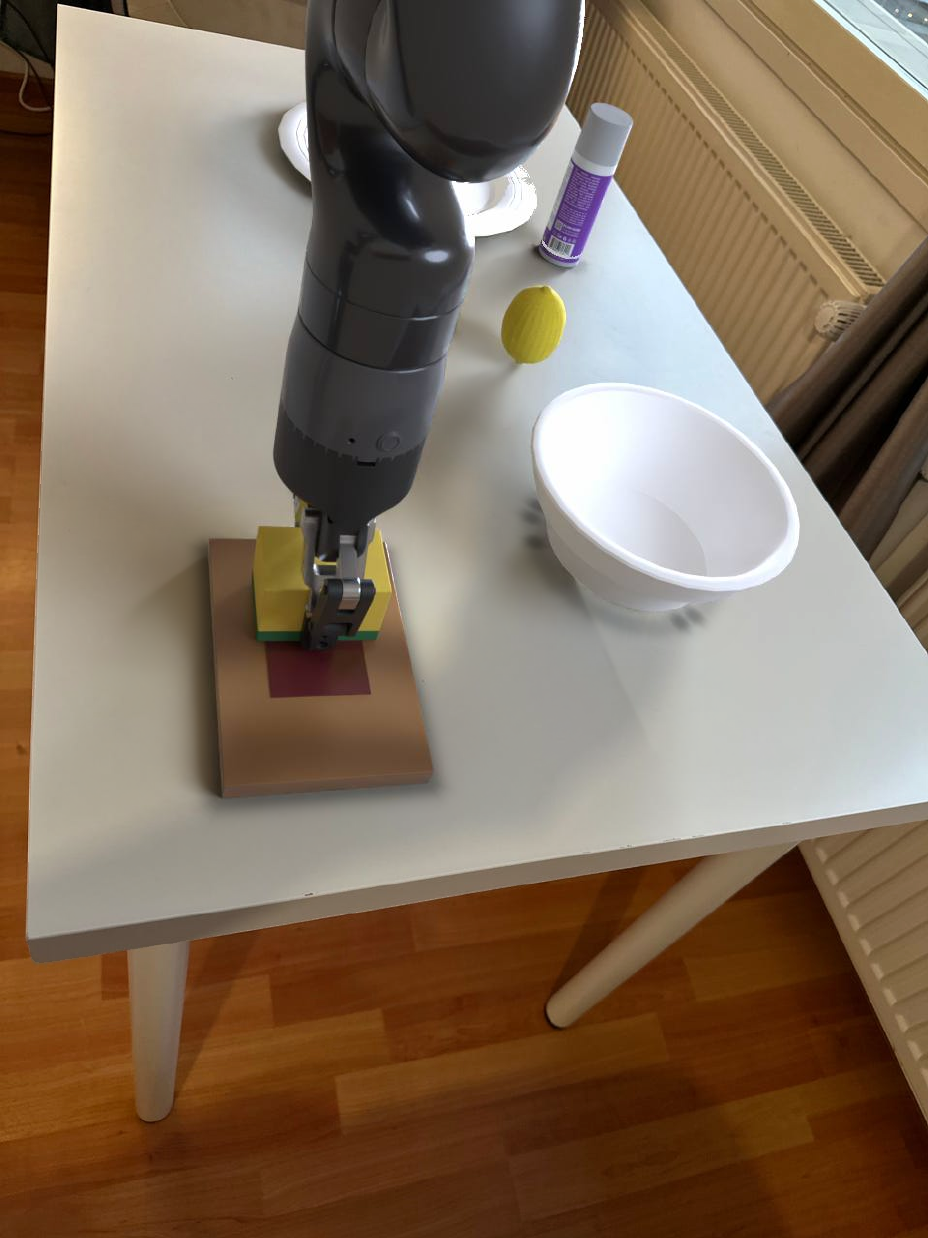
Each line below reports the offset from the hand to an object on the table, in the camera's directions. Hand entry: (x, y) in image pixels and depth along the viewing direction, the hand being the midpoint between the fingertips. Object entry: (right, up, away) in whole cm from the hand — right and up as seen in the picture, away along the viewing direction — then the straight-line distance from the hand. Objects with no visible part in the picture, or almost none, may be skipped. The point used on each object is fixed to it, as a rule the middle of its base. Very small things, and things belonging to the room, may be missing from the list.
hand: (312, 608), depth 56 cm
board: (0, -3, 0) cm, 3 cm away
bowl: (+22, +5, +14) cm, 27 cm away
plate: (+3, +49, +42) cm, 65 cm away
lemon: (+15, +23, +26) cm, 38 cm away
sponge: (0, 0, 0) cm, 0 cm away
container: (+20, +39, +41) cm, 60 cm away
